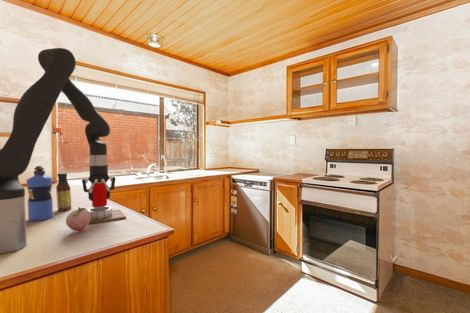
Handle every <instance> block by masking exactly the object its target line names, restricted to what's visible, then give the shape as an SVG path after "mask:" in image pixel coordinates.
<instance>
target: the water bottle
mask: <svg viewBox="0 0 470 313" xmlns="http://www.w3.org/2000/svg"><path fill="white" fill-rule="evenodd" d="M52 186H53V178H52V177H50V176H47V175H46V170H45V167H44V166H42V165H37V166H35V167H34V168H33V176H32V177H28V179H26V187H27V193H28V199H27V209H28V210H27V218H28V222H41V221H42V222H43V221H47V220H51V219H52V218H54V213H53V212H54V211H53V210H54V209H53V196H52Z"/></svg>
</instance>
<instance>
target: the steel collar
mask: <svg viewBox="0 0 470 313" xmlns="http://www.w3.org/2000/svg"><path fill="white" fill-rule="evenodd" d="M86 210H87V211H89V212H90V214H91V219H92V220H94V219H104V218H107V217H110V216H112V210H113V207H112V206H111V205H110V206H108V205H106V206H105V207H103V208H94V207H90V208H88V209H86Z"/></svg>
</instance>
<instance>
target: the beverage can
mask: <svg viewBox="0 0 470 313" xmlns="http://www.w3.org/2000/svg"><path fill="white" fill-rule="evenodd" d="M91 206H92V208H103V207H105V206H108V199H107V189H106V185H105V184H104V183H102V182H97V183H95V184H94V186H93V190H92V201H91Z"/></svg>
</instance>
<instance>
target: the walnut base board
mask: <svg viewBox="0 0 470 313" xmlns="http://www.w3.org/2000/svg"><path fill="white" fill-rule="evenodd" d="M126 219H127V216H126V214H124V212H123V211H121V209H119V208H118V209H114V210H113V209H112V216H110V217H107V218H104V219H94V220H92V219H91V220H90V223H89V224H88V226H89V225H95V224H102V223H107V222H113V221H120V220H126Z"/></svg>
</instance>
